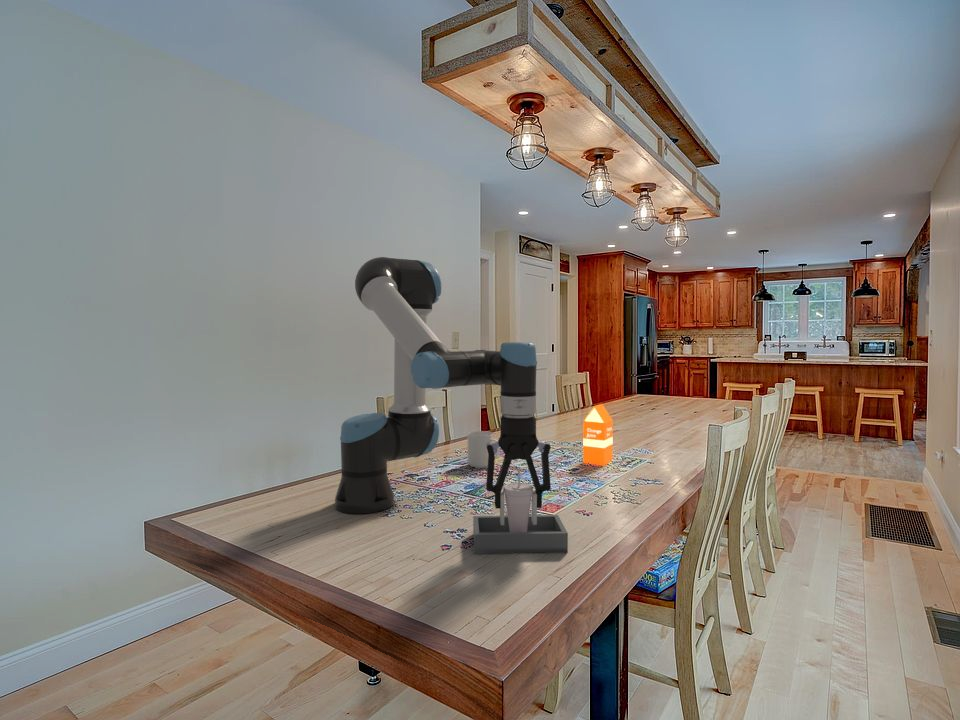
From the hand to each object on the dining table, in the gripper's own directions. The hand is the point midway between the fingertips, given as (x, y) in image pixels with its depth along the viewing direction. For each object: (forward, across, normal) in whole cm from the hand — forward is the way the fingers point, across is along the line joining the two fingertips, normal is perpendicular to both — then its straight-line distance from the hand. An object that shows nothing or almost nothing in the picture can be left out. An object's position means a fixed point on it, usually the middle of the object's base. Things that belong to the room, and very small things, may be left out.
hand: (518, 522), depth 113 cm
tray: (+4, 0, 0) cm, 4 cm away
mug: (+5, -4, +66) cm, 66 cm away
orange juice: (+5, +36, +71) cm, 79 cm away
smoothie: (+2, 0, 0) cm, 2 cm away
